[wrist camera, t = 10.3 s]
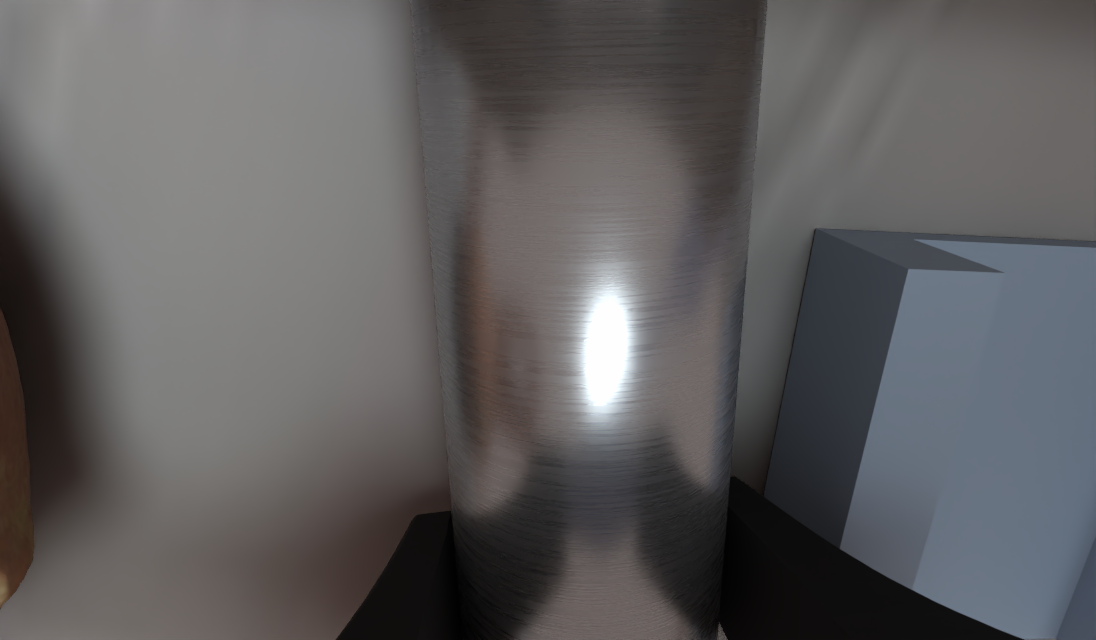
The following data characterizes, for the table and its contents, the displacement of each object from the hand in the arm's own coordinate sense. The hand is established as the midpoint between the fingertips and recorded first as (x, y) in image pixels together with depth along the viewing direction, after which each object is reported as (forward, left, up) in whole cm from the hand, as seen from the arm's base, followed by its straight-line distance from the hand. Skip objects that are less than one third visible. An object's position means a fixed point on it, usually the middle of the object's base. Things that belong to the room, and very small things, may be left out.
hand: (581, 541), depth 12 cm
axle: (0, -2, +1) cm, 3 cm away
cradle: (-8, -1, -1) cm, 9 cm away
